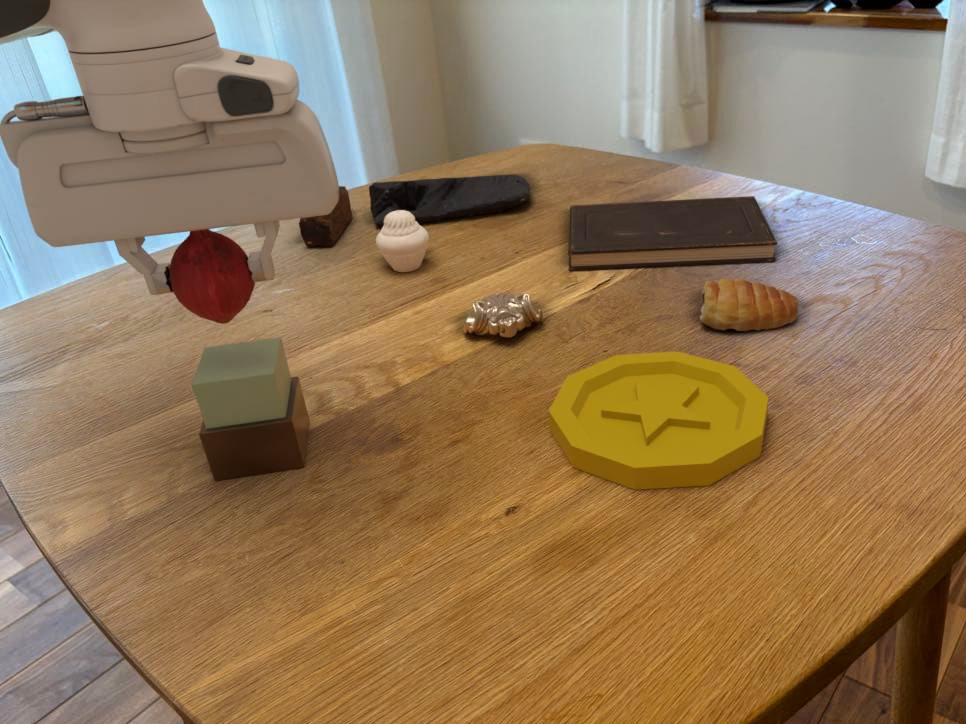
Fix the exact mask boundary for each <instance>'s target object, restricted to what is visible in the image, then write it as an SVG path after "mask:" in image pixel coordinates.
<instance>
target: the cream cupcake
mask: <svg viewBox="0 0 966 724" xmlns="http://www.w3.org/2000/svg"><path fill="white" fill-rule="evenodd" d="M410 212H411V211H409V210H406V211H405V210H397V211H393V212H390V213H389V214H387V215H386V216H385V219H384V226H381V230H380V231H379V232H378V234H377V236H376V238H375V245H376V247H377V249H378V250H379V252H380V254H381V256H382V257H383V259H384V260H385V261H386V262H387V263H388V265H389V266H390V267H391V268H392V269H393V271H395V272H398V273H410V272H414V271H416V270H418V269H419V268H420V267H421V266H422V263H423V260H424V257H425V255H426V252H427V250H428V246H429V245H428V243H429V241H430V235H429V232H428V231H427V229H425V228H424V227H423V226H422V225H420V223H418V222H417V221H415V217H414V216H413V214H411V213H410Z"/></svg>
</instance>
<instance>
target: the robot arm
mask: <svg viewBox="0 0 966 724" xmlns="http://www.w3.org/2000/svg"><path fill="white" fill-rule="evenodd" d="M54 32H57V33H58V34H59V35H60V36H61V38H62V40H63V41H64V43H65V46H66V49H67V52H68V55H69V58H70V61H71V64H72V67H73V70H74V72H75V76H76V79H77V82H78V85H79V87H80V90H81V94H82V95H76V96H67V97H60V98H55V99H52V100H46V101H37V100H30V101H29V100H28V101H22V102H19V103H16V104H14V106H13V109H12V110H10V111H8V112H7V113H6V114H5V115H4V116H3V117H2V118H1V120H0V140H1V142H2V145H3V146H4V150H5V152H6V154H7V157H8V158H9V160H10V162H11V163H12V164H13V165H14V167H16V169H17V170H18V176H19V181H20V186H21V191H22V194H23V199H24V203H25V207H26V210H27V213H28V217H29V218H30V223H31V225H32V228H33V231H34V233H35V235H36V236H37V237H38V238H39V239H41V240H42V241H43V242H45V243H46V244H48V245H49V246H50V247H53V248H64V247H71V246H79V245H89V244H96V243H104V242H105V243H106V242H114V244H115V248H116V250H117V253H118V255H119V256H120V257H121V258H122V259H123V260H124V261H126V263H128V264H129V265H130V266H131V267H132V268H133V269H134V270H135V271H137V272H138V273H139V274H140V275H143V278H144V280H145V283H146V287H147V289H148V292H149V294H150V295H151V296H158V295H165V294H170V293H174V292H173V290H172V285H171V281H170V276H169V271H170V263H171V262H164V263H163V262H162V263H158V262H157V261H156V260H155V259H154V258H153V257H152V255H150V254H149V253H148V251H146V249H144V248H143V247H142V246H143V245H144V244H145V241H146V237H155V236H162V235H170V234H171V235H172V234H178V233H188V232H189V233H190V231H197V230H205V229H209V230H212V229H213V230H214V229H221V228H222V229H223V228H228V227H238V226H245V225H246V226H247V225H253V226H254V229H255V234H256V237H257V238H264V240H263V243H262V246H261V249H260V250H259V251H253V252H252V251H251V252H249V254H248V261H247V263H248V267H249V270H250V271H251V272H252V274H251V278H252V281H253V282H255V283H260V282H268V281H269V282H270V281H274V279H275V276H276V270H275V265H274V261H273V257H272V253H273V249H274V246H275V244H276V241H277V237H278V234H279V231H280V227H281V224H280V221H286V220H296V219H300V218H305V217H313V216H322V215H328V214H330V213H331V212H332V210H333V209H334V207H335V206H336V204H337V202H338V200H339V186H340V184H339V179H338V174H337V171H336V168H335V163H334V160H333V156H332V153H331V150H330V147H329V143H328V141H327V138H326V136H325V132H324V130H323V128H322V125H321V123H320V120H319V119H318V116H317V115H316V113H315V112H314V111H313V110H312V109H311V107H310V106H308V105H307V104H306V103H305V102H304V101H302V100H299V99H298V98H299V96H300V81H299V76H298V72H297V70H296V68H295V67H294V65H293V64H292V63H290V62H288V61H285V60H281V59H276V58H272V57H267V56H261V55H258V54H257V55H256V54H252V53H247V52H242V51H238V50H235V49H229V48H226V47H221V46H220V42H219V38H218V34H217V33H218V32H217V30H216V26H215V24H214V21H213V19H212V17H211V15H210V13H209V12H208V10H207V8H206V6H205V4H204V1H203V0H0V45H4V44H9V43H14V42H17V41H21V40H24V39H28V38H34V37H41V36H44V35H48V34H51V33H54ZM14 118H17V119H18V120H13V119H14Z"/></svg>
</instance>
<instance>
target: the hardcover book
mask: <svg viewBox="0 0 966 724" xmlns="http://www.w3.org/2000/svg"><path fill="white" fill-rule="evenodd" d="M568 221H569V225H568V240H567V241H568V242H567V243H568V245H567V255H568V256H569V257H568V271H570V272H572V271H593V270H594V271H595V270H596V271H597V270H617V269H637V268H639V269H640V268H659V267H660V268H663V267H682V266H683V267H684V266H704V265H705V266H707V265H727V264H729V265H730V264H748V263H749V264H750V263H751V264H752V263H771V262H772V263H773V262H777V258H776V256H775V254H774V253H775V252H776V250H775V246H778V241H777V238H776V237H775V235H774V233H773V231H772V229H771V226H770V225H769V223H768V221H767V219H766V217H765V215H764V213H763V211H762V209H761V207H760V205H759V203H758V201H757V199H756V197H755V196H754V195H749V196H748V195H747V196H727V197H710V198H709V197H707V198H693V199H692V198H691V199H690V198H689V199H688V198H686V199H670V200H650V201H630V202H610V203H591V204H589V203H588V204H573V205H572V204H571V205H570V207H569V220H568Z"/></svg>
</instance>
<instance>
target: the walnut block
mask: <svg viewBox="0 0 966 724" xmlns="http://www.w3.org/2000/svg"><path fill="white" fill-rule="evenodd" d="M291 379H292V380H291V387H290V393H289V399H288V406H287V412H286V417H285V418H280V419H273V420H266V421H259V422H252V423H245V424H238V425H231V426H225V427H218V428H211V429H206V427H205V424H204V421H203V420H202V422H201V426H200V429H199V432H198V436H199V439H200V442H201V445H202V448H203V451H204V454H205V456H206V460H207V462H208V466H209V468H210V472H211V475H212V478H213V480H214V482H217V481H223V480H229V479H236V478H242V477H250V476H256V475H257V476H258V475H262V474H270V473H275V472H276V473H277V472H283V471H289V470H295V469H302V468H305V465H306V457H307V447H308V440H309V439H308V437H309V429H310V421H311V420H310V417H309V412H308V409H307V405H306V404H307V403H306V401H305V397H304V393H303V390H302V389H303V388H302V385H301V381H300V377H299V376H298V375H297V376H291Z"/></svg>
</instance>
